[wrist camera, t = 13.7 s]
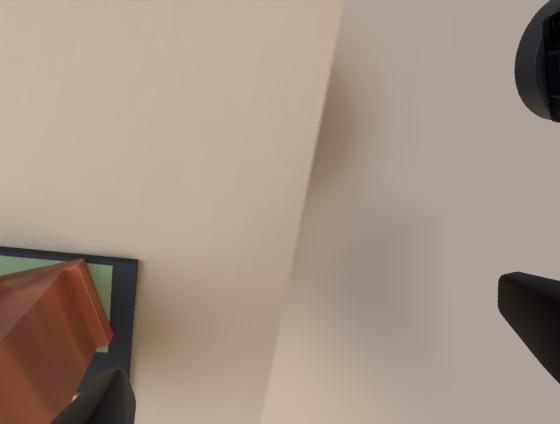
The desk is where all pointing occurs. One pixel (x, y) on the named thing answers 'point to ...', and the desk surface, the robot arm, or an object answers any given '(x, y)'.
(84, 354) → the reddish brown square pillar
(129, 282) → the dark blue mat
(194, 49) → the desk surface
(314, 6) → the desk surface
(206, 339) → the desk surface
